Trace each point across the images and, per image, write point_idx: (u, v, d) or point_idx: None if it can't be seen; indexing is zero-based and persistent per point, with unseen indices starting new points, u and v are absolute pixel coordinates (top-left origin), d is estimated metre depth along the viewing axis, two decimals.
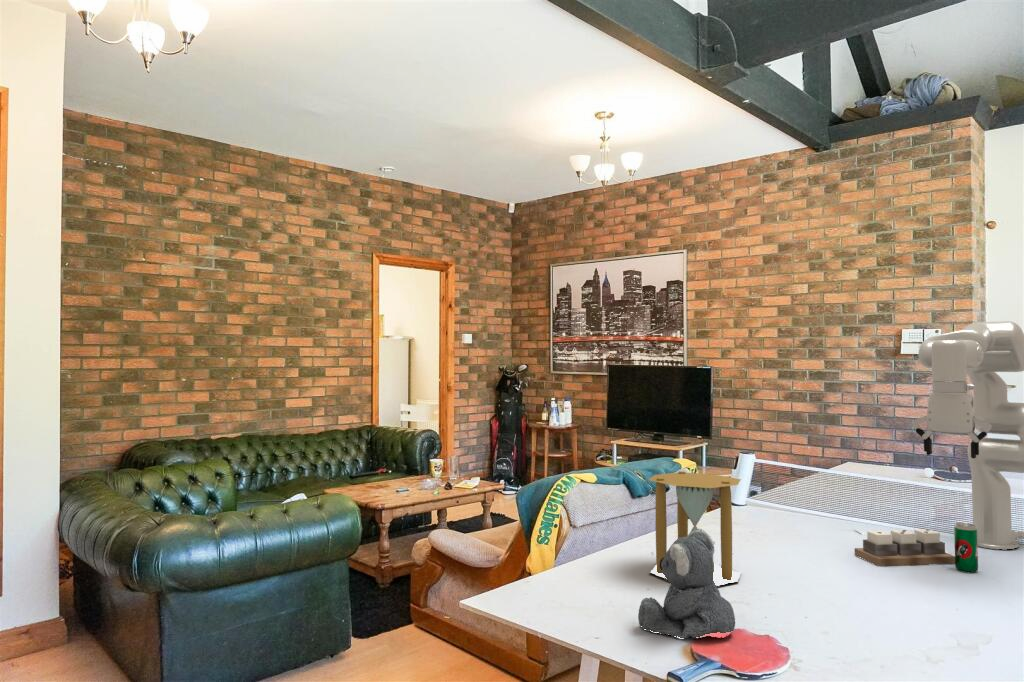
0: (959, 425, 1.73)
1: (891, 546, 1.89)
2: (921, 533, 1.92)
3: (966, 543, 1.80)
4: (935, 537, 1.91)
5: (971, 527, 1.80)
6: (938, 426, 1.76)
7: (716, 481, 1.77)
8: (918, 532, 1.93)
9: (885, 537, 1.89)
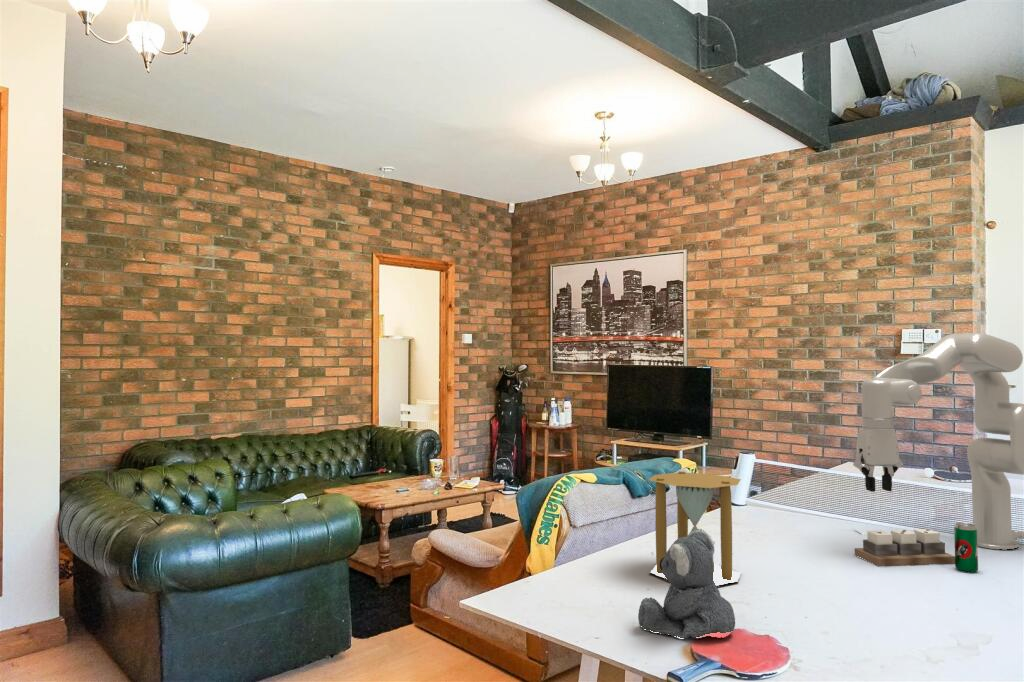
0: (890, 458, 1.90)
1: (891, 546, 1.89)
2: (921, 533, 1.92)
3: (966, 543, 1.80)
4: (935, 537, 1.91)
5: (971, 527, 1.80)
6: (875, 460, 1.90)
7: (716, 481, 1.77)
8: (918, 532, 1.93)
9: (885, 537, 1.89)
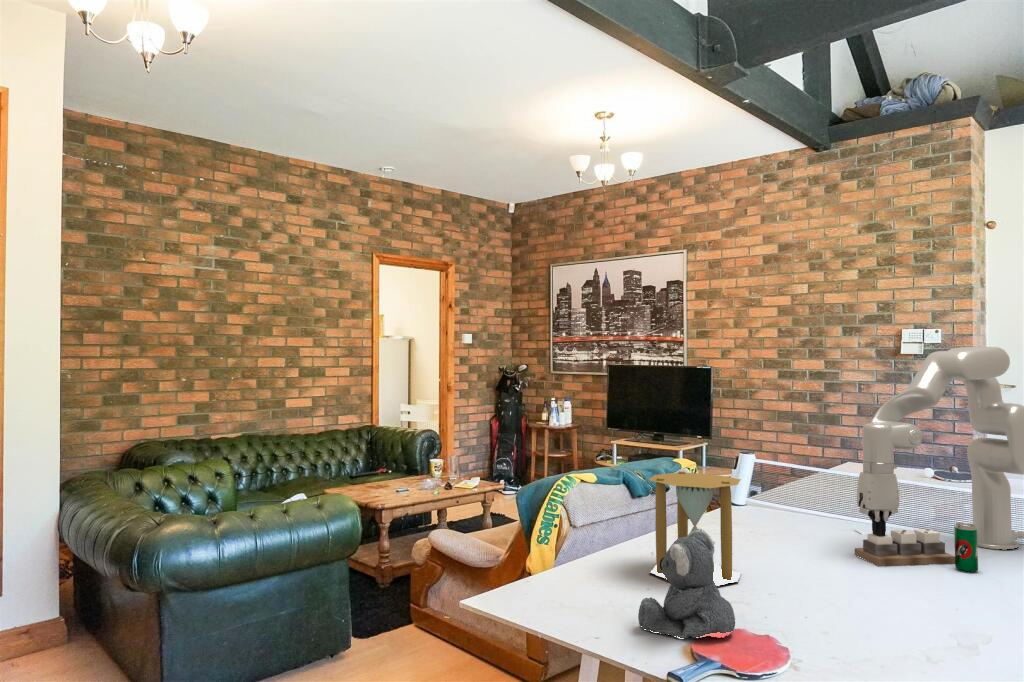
0: (891, 502, 1.90)
1: (891, 546, 1.89)
2: (921, 533, 1.92)
3: (966, 543, 1.80)
4: (935, 537, 1.91)
5: (971, 527, 1.80)
6: (875, 504, 1.89)
7: (716, 481, 1.77)
8: (918, 532, 1.93)
9: (885, 539, 1.89)
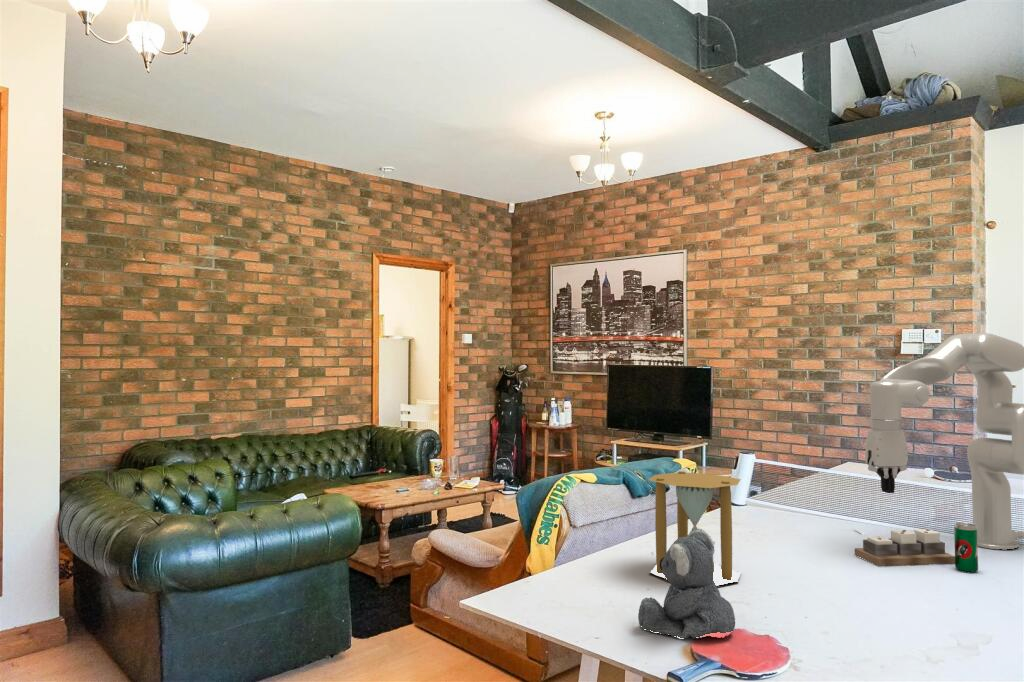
0: (900, 459, 1.91)
1: (891, 546, 1.89)
2: (921, 533, 1.92)
3: (966, 543, 1.80)
4: (935, 537, 1.91)
5: (971, 527, 1.80)
6: (884, 461, 1.90)
7: (716, 481, 1.77)
8: (918, 532, 1.93)
9: (885, 543, 1.89)
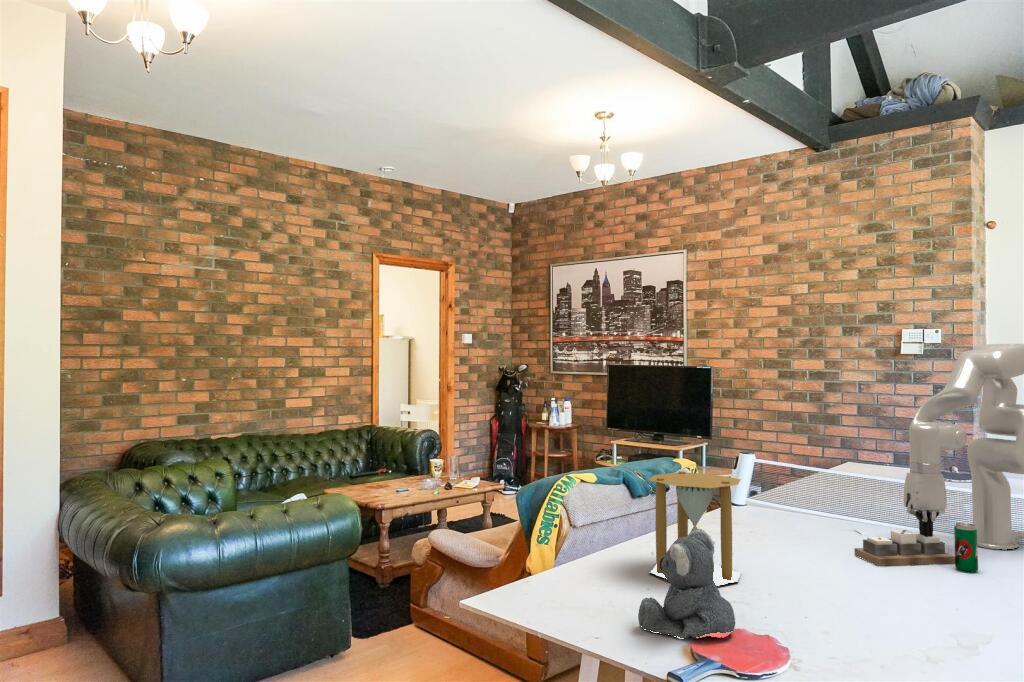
0: (939, 503, 1.91)
1: (891, 546, 1.89)
2: (921, 537, 1.92)
3: (966, 543, 1.80)
4: (935, 541, 1.91)
5: (971, 527, 1.80)
6: (923, 505, 1.91)
7: (716, 481, 1.77)
8: (918, 536, 1.93)
9: (885, 543, 1.89)
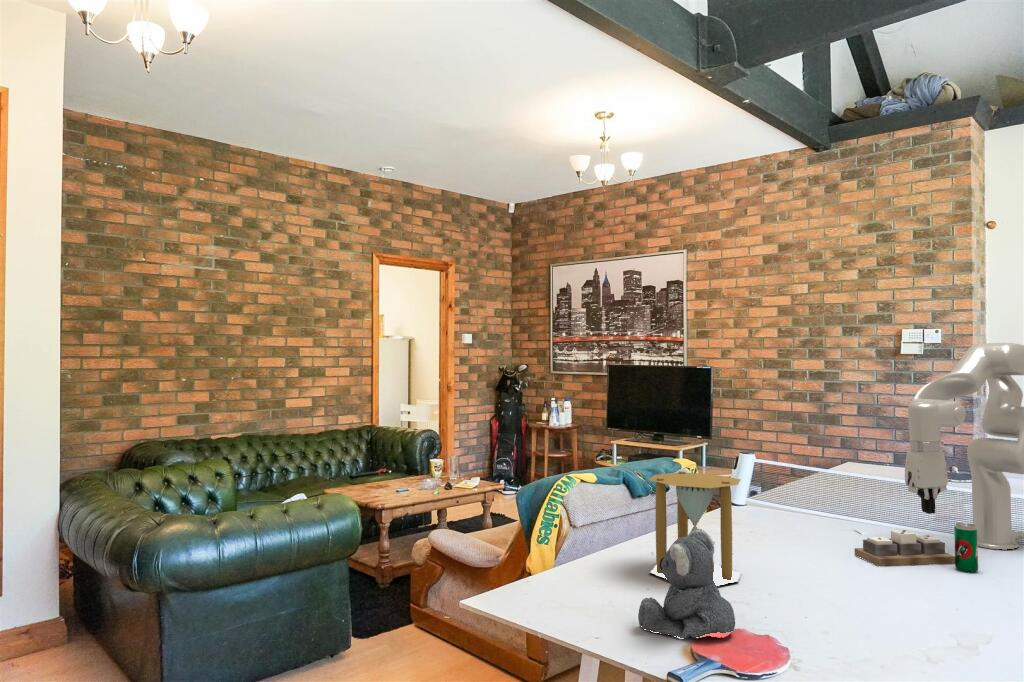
0: (940, 480, 1.92)
1: (891, 546, 1.89)
2: (921, 539, 1.92)
3: (966, 543, 1.80)
4: None
5: (971, 527, 1.80)
6: (925, 483, 1.91)
7: (716, 481, 1.77)
8: (918, 538, 1.93)
9: (885, 543, 1.89)
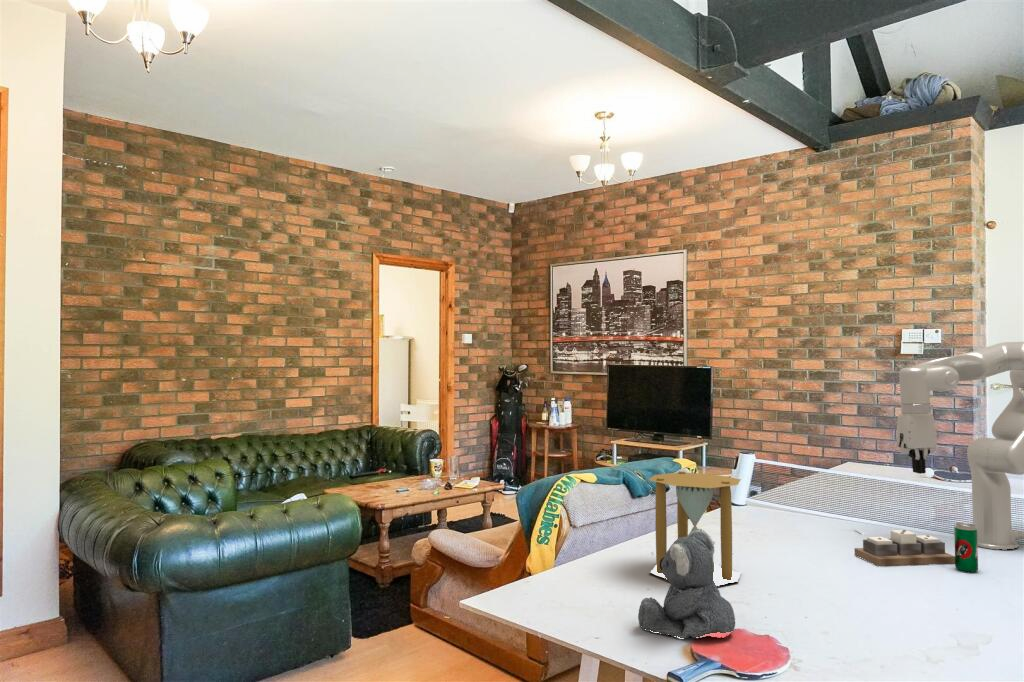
0: (930, 441, 2.00)
1: (891, 546, 1.89)
2: (921, 539, 1.92)
3: (966, 543, 1.80)
4: None
5: (971, 527, 1.80)
6: (916, 443, 2.00)
7: (716, 481, 1.77)
8: (918, 538, 1.93)
9: (885, 543, 1.89)
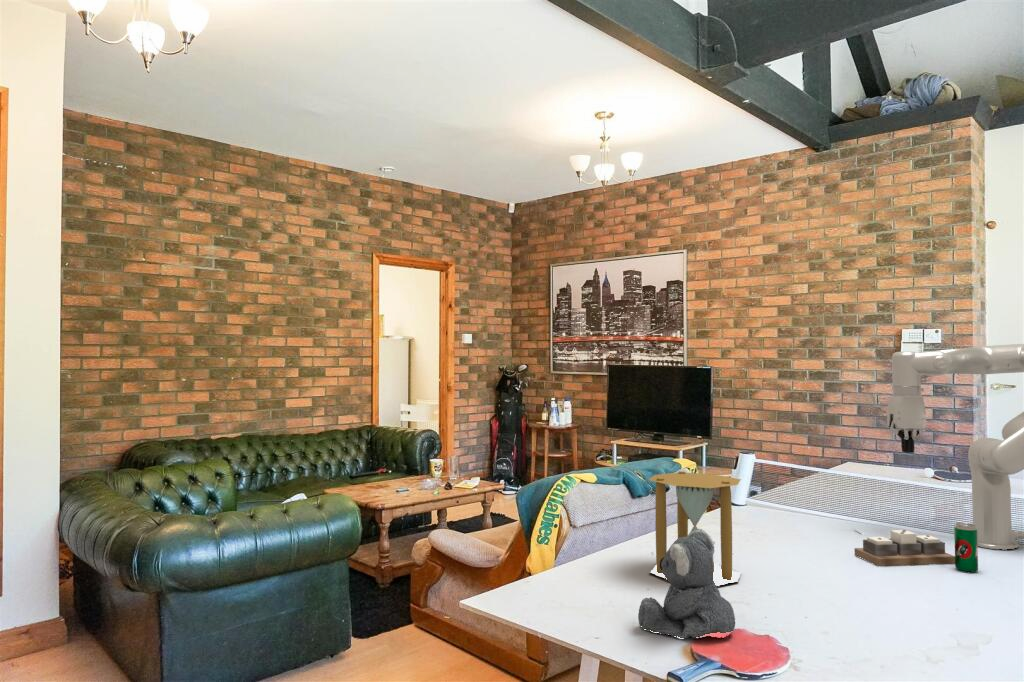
0: (919, 422, 2.10)
1: (891, 546, 1.89)
2: (921, 539, 1.92)
3: (966, 543, 1.80)
4: None
5: (971, 527, 1.80)
6: (905, 424, 2.09)
7: (716, 481, 1.77)
8: (918, 538, 1.93)
9: (885, 543, 1.89)
